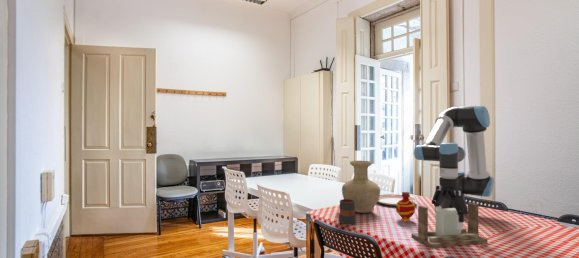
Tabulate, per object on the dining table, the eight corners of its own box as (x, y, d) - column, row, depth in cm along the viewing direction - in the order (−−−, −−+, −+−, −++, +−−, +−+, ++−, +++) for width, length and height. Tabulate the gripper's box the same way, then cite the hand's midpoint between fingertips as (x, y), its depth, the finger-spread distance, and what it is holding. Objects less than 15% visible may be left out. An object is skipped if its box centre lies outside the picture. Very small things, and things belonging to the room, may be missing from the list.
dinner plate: (411, 210, 198) (411, 204, 198) (368, 204, 212) (367, 199, 212) (420, 201, 221) (420, 196, 221) (380, 197, 236) (380, 192, 236)
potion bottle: (417, 223, 170) (417, 194, 170) (396, 222, 172) (397, 194, 172) (414, 217, 180) (414, 191, 180) (394, 216, 182) (394, 190, 182)
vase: (383, 209, 199) (383, 160, 199) (375, 218, 179) (375, 164, 179) (348, 205, 209) (348, 159, 209) (336, 213, 189) (336, 162, 189)
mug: (357, 219, 177) (357, 198, 177) (353, 225, 166) (353, 203, 166) (342, 218, 180) (342, 197, 180) (337, 224, 169) (337, 201, 169)
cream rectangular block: (454, 233, 148) (454, 207, 148) (461, 237, 144) (461, 210, 144) (435, 235, 146) (435, 209, 146) (441, 238, 142) (442, 211, 142)
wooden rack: (463, 232, 155) (463, 200, 155) (487, 242, 142) (487, 207, 141) (411, 236, 149) (411, 203, 149) (431, 247, 135) (431, 210, 135)
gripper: (423, 173, 156) (423, 217, 157) (462, 182, 132) (461, 234, 132) (437, 173, 158) (437, 216, 158) (477, 181, 134) (477, 232, 134)
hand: (448, 224), depth 145 cm, fingers open, 13 cm apart
